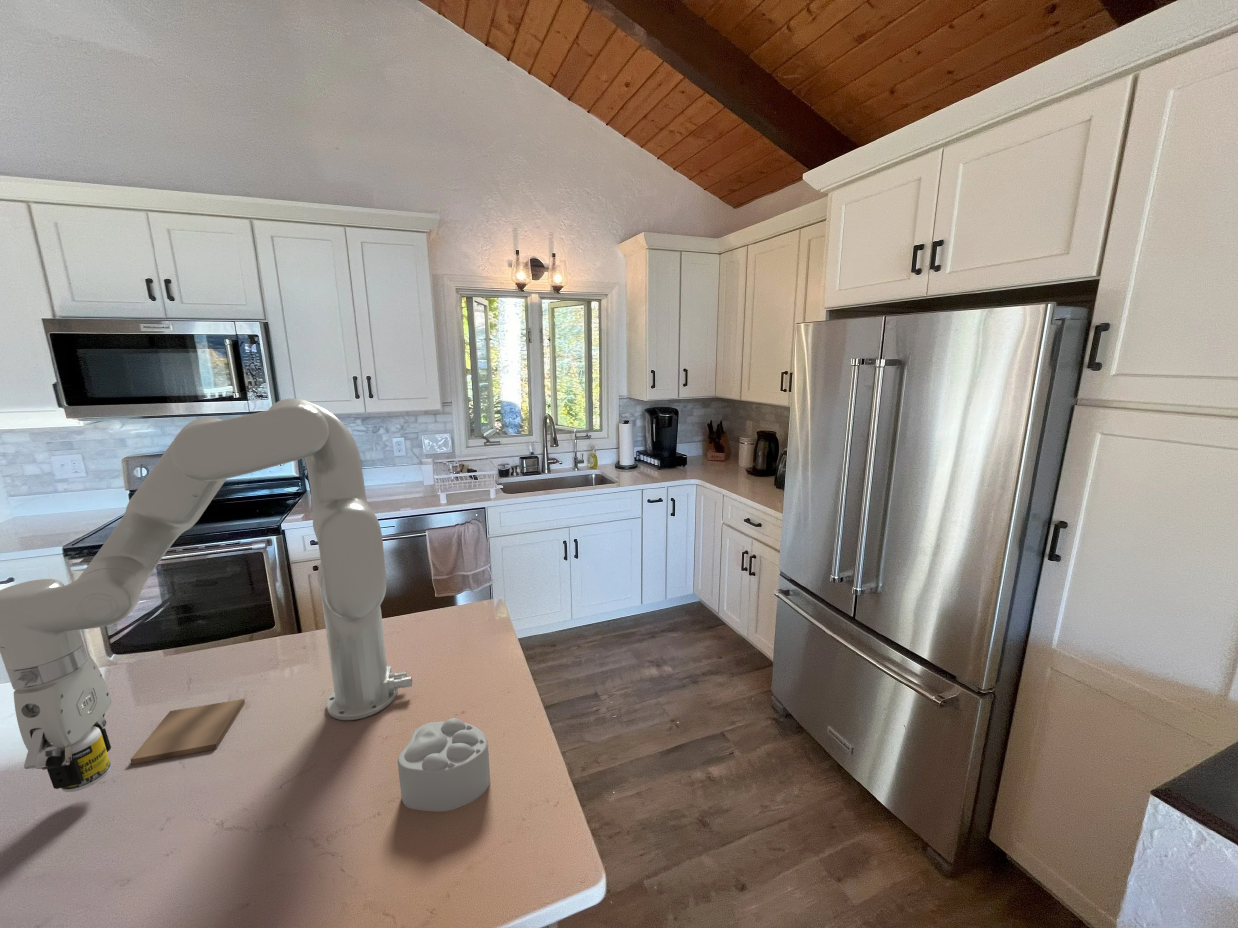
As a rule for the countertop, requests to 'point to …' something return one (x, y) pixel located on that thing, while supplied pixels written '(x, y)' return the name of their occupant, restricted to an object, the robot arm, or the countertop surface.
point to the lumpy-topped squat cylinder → (444, 766)
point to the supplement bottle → (89, 758)
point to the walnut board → (189, 731)
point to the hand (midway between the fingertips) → (84, 767)
